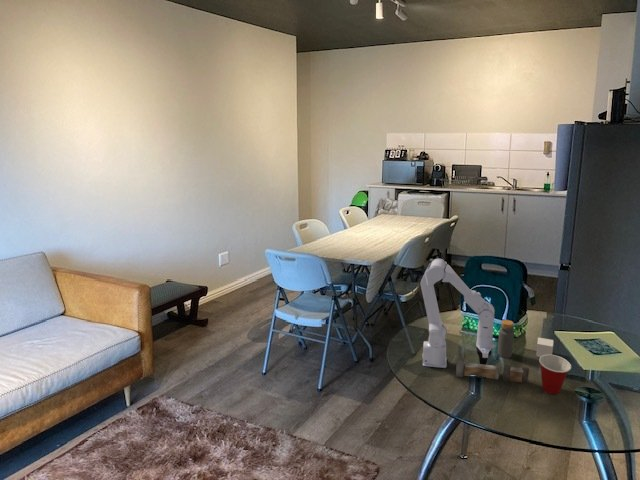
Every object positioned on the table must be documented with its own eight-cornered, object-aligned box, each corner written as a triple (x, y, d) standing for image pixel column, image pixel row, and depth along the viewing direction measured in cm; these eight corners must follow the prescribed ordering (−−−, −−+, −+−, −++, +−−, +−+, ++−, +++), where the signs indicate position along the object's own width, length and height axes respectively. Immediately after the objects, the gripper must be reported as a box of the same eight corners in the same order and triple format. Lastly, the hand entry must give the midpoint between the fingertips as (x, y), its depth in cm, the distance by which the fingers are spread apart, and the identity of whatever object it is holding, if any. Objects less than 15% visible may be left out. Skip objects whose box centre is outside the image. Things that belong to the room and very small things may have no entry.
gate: (464, 376, 194) (465, 364, 193) (464, 373, 196) (464, 362, 194) (498, 379, 191) (499, 367, 190) (497, 377, 193) (498, 365, 191)
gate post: (455, 376, 194) (456, 363, 193) (455, 372, 197) (456, 360, 195) (463, 377, 194) (464, 364, 192) (463, 373, 196) (463, 360, 195)
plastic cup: (554, 402, 177) (558, 373, 174) (529, 387, 186) (532, 359, 183) (574, 393, 182) (578, 364, 178) (549, 379, 191) (552, 351, 188)
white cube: (535, 356, 207) (537, 343, 206) (536, 349, 212) (537, 337, 211) (551, 359, 205) (553, 346, 203) (552, 352, 210) (553, 339, 208)
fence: (503, 381, 190) (504, 368, 189) (502, 377, 193) (503, 364, 191) (528, 383, 188) (529, 370, 187) (527, 380, 191) (528, 367, 189)
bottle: (513, 358, 206) (516, 325, 202) (498, 357, 207) (501, 324, 203) (510, 351, 212) (513, 319, 207) (496, 350, 213) (499, 318, 209)
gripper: (497, 344, 187) (494, 375, 190) (493, 326, 200) (491, 356, 204) (478, 342, 188) (475, 373, 192) (475, 325, 202) (473, 354, 206)
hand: (482, 364), depth 198 cm, fingers closed
